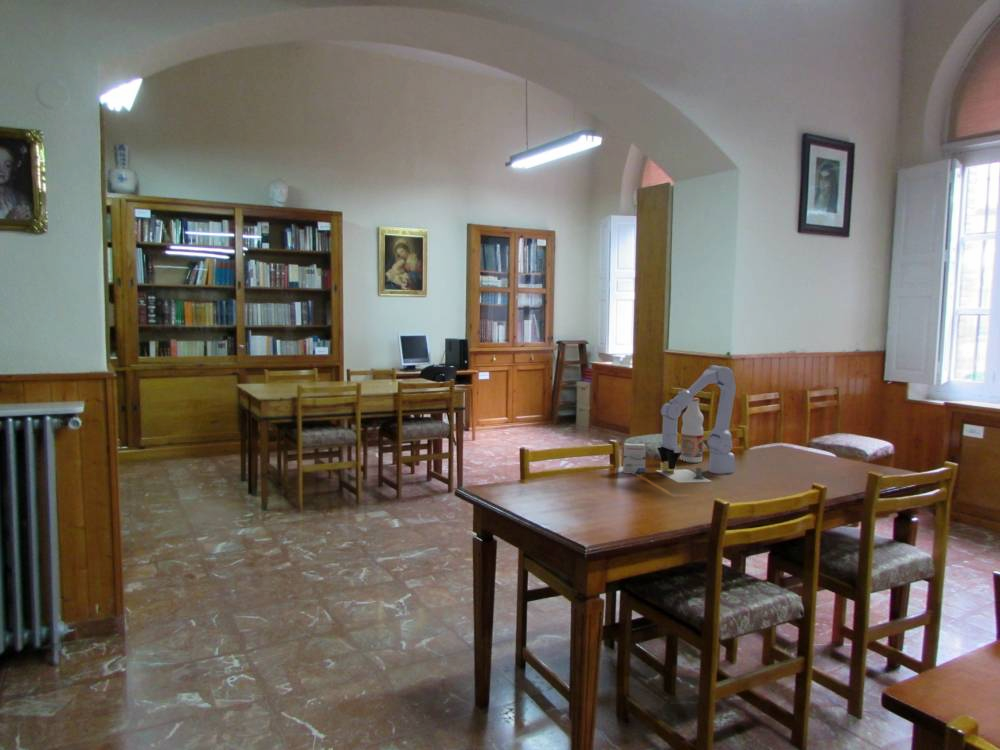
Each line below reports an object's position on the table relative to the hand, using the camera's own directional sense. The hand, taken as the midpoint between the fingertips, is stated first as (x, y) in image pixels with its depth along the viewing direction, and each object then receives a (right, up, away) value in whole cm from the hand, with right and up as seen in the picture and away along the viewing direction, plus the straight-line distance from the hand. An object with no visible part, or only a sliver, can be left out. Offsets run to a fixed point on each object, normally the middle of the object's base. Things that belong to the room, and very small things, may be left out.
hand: (668, 467), depth 266 cm
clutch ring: (0, -1, 0) cm, 1 cm away
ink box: (-13, -3, +4) cm, 14 cm away
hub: (0, -3, 0) cm, 3 cm away
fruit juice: (+17, -1, +29) cm, 34 cm away
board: (+5, -4, -4) cm, 7 cm away
